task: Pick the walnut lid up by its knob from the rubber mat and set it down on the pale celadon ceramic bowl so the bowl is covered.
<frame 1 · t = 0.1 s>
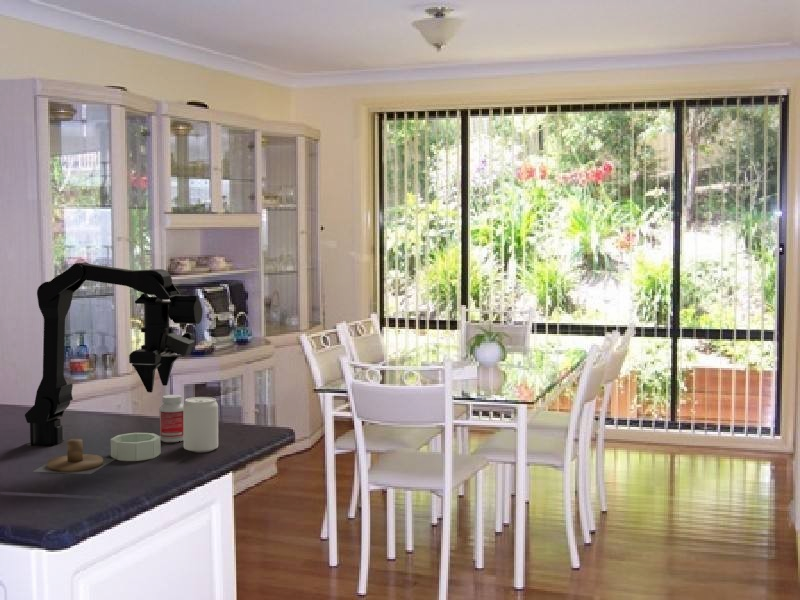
hand: (157, 388, 221), 15 cm above the counter, fingers open, 9 cm apart
bowl: (135, 457, 214), on the counter
lid: (75, 465, 205), point 1 cm above the counter, touching mat
mat: (75, 467, 205), on the counter
pill bottle: (172, 440, 232), on the counter
beverage can: (201, 450, 223), on the counter
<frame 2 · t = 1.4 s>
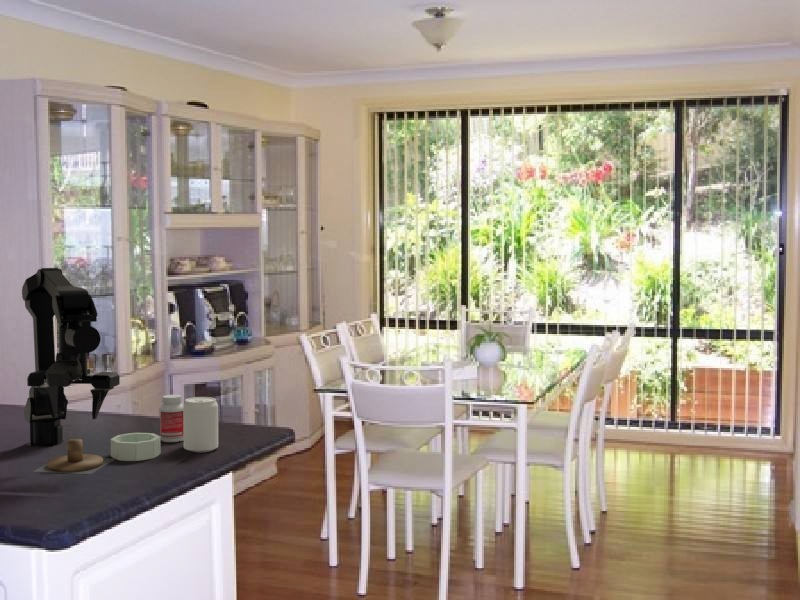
hand: (74, 418, 204), 11 cm above the counter, fingers open, 9 cm apart
nothing on the counter moved.
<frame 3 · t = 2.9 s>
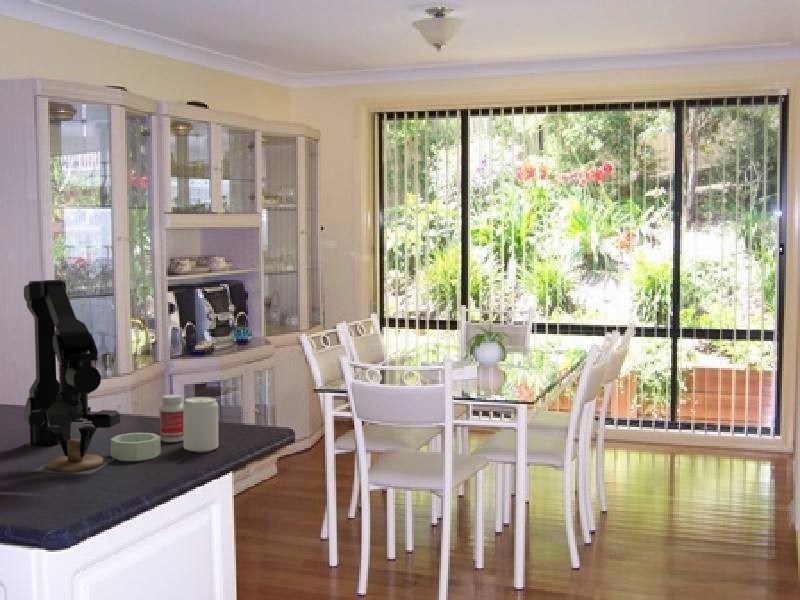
hand: (75, 456, 205), 3 cm above the counter, fingers closed on lid, 3 cm apart
lid: (75, 465, 205), point 1 cm above the counter, touching gripper, mat
everything else where it was.
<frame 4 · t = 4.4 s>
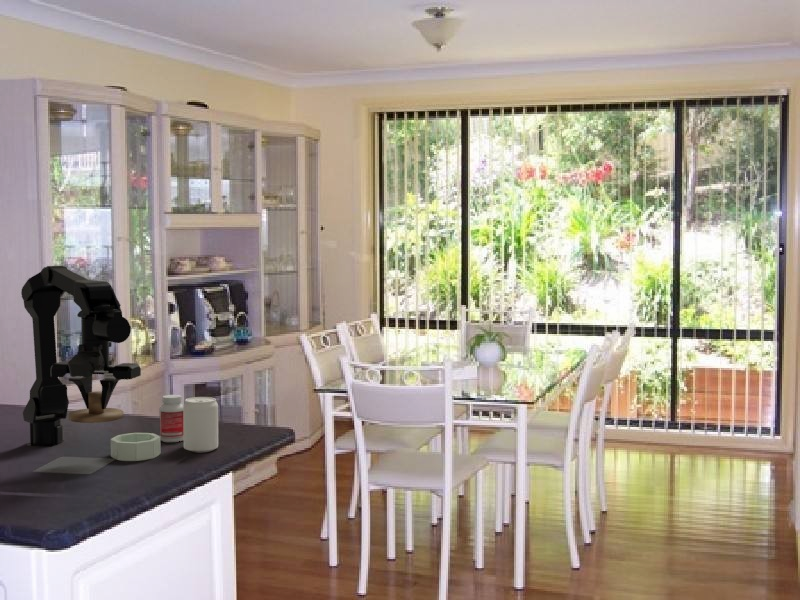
hand: (96, 408, 207), 12 cm above the counter, fingers closed on lid, 3 cm apart
lid: (96, 417, 207), point 11 cm above the counter, touching gripper
everything else where it was.
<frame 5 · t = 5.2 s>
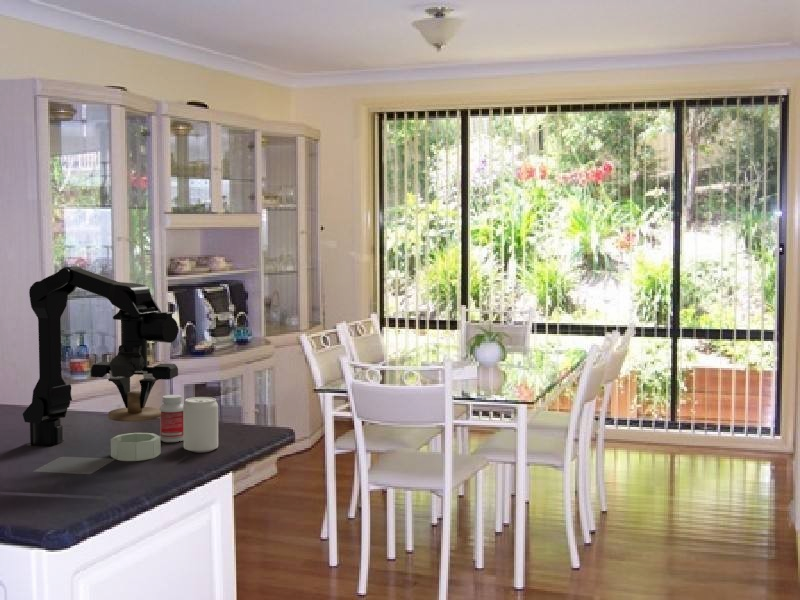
hand: (134, 407, 213), 12 cm above the counter, fingers closed on lid, 3 cm apart
lid: (134, 416, 214), point 10 cm above the counter, touching gripper
everything else where it was.
when the fingers open (8 cm above the counter, at t = 6.0 s): lid drops 1 cm, resting on bowl.
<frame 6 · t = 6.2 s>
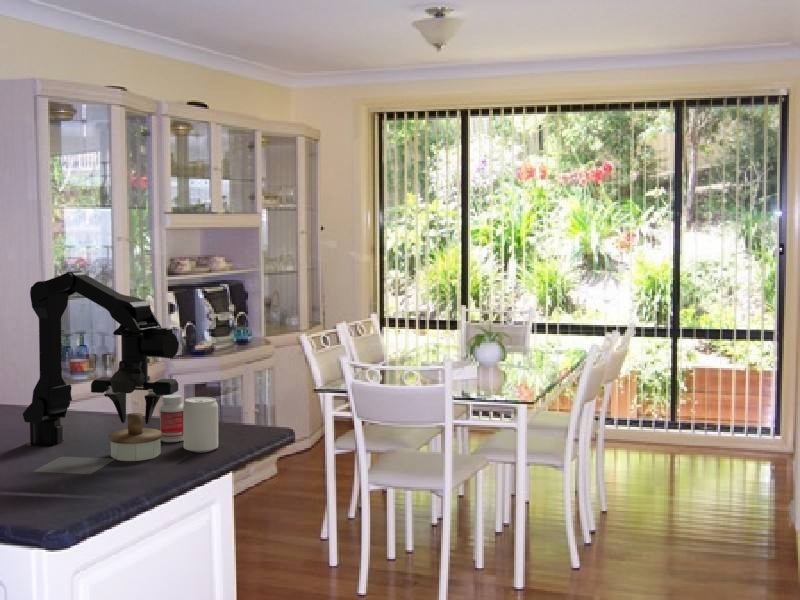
hand: (135, 423, 214), 8 cm above the counter, fingers open, 5 cm apart
lid: (135, 437, 214), point 5 cm above the counter, touching bowl
everything else where it was.
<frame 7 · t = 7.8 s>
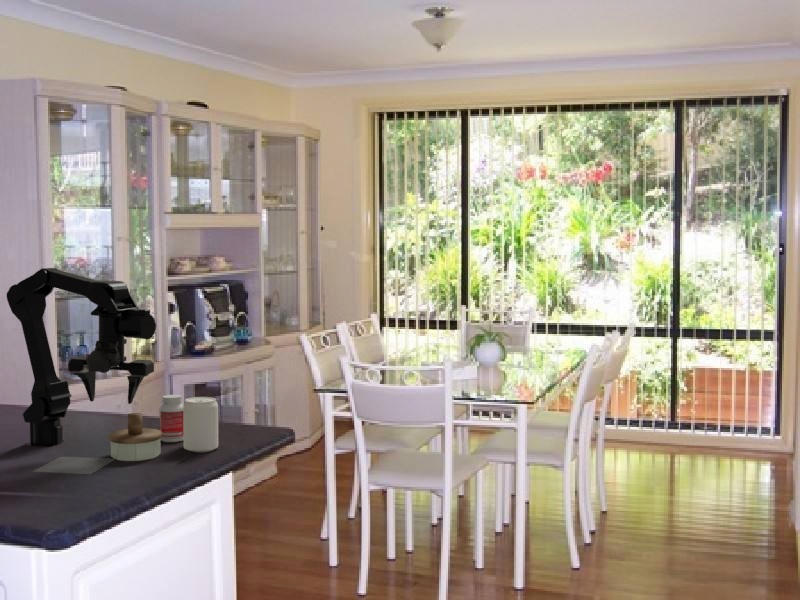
hand: (110, 402, 217), 12 cm above the counter, fingers open, 9 cm apart
nothing on the counter moved.
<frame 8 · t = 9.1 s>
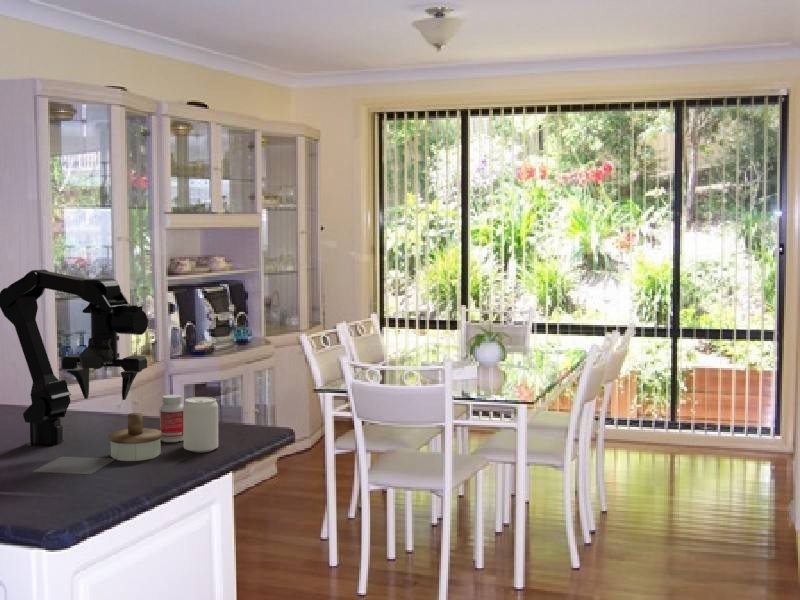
hand: (105, 399, 218), 13 cm above the counter, fingers open, 9 cm apart
nothing on the counter moved.
at the end: lid 0.1 cm off-centre on the bowl, point 4.6 cm above the bowl's base; lid tilted 0°; the gripper is holding nothing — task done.
